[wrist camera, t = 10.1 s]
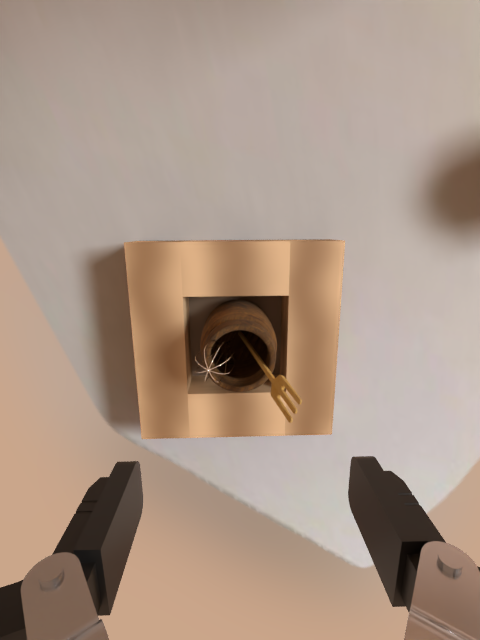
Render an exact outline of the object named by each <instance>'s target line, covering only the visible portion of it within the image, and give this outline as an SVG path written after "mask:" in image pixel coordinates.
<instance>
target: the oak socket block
mask: <svg viewBox="0 0 480 640" xmlns="http://www.w3.org/2000/svg"><path fill="white" fill-rule="evenodd" d="M344 249H345V241H342V240H330V239H325V240H204V241H134V242H125V243H124V250H125V261H126V272H127V283H128V294H129V305H130V316H131V327H132V338H133V349H134V360H135V370H136V381H137V392H138V403H139V414H140V425H141V436H142V439H157V438H199V437H242V436H284V435H327V434H332V423H333V409H334V394H335V380H336V365H337V350H338V336H339V321H340V307H341V292H342V278H343V263H344ZM231 300H245V301H249V302H251V303H253V304H255V305H257V306H258V307H259V308H261V309H262V310H263V311H264V312H265V314H266V315H267V317H268V318H269V320H270V322H271V324H272V327H273V329H274V332H275V335H276V340H277V352H276V363H275V367H274V370H273V372H272V374H273V375H274V377H275V378H276V377H277V376H279V375H282V376H284V377H285V378H286V379H287V381H288V382H289V383H290V385H291V386H292V388H293V389H294V390H295V392H296V393H297V394H298V396H299V397H300V398H301V400H302V403H301V404H300V405H299V404H298V403H297V402H296V401H295V400H294V398H293V397H292V396H291V394H290V393H289V392H288V391H287V389H286V388H284V391H285V392H286V394H287V395H288V397H289V398H290V400H291V401H292V403H293V404H294V405H295V407H296V408H297V413H296V414H294V413H293V412H292V411H291V409H290V408H289V406H288V405H287V404H286V402H285V401H284V400H283V398H282V397H281V396H280V399H281V401H282V402H283V404H284V406H285V407H286V409H287V410H288V412H289V414H290V415H291V417H292V418H293V422H292V423H289V422H288V420H287V419H286V417H285V416H284V414H283V413H282V411H281V410H280V408H279V407H278V406H277V404H276V403H275V401H274V400H273V398H272V397H271V394H270V393H271V387H272V383H271V381H270V380H269V378H268V380H267V381H266V382H265V383H263V384H262V385H261V386H259V387H258V388H256V389H253V390H251V391H247V392H232V391H228V390H225V389H223V388H221V387H219V386H218V385H216V384H215V383H214V382H213V381H212V380H211V379H210V377H209V378H208V374H207V372H203V371H206V370H205V367H204V364H203V363H202V362H203V358H202V355H201V349H200V342H201V335H202V331H203V328H204V325H205V322H206V320H207V318H208V316H209V315H210V313H211V312H212V311H213V310H214V309H215V308H216V307H217V306H219V305H220V304H222V303H224V302H227V301H231ZM199 351H200V352H199ZM198 352H199V354H198ZM197 354H198V355H197ZM196 355H197V356H196ZM195 357H196V360H195ZM196 361H197V362H198V363H199V364H201V363H202V364H201V366H203V367H204V368H203V367H201V366H199V364H198V363H197V362H196ZM198 367H199V368H198ZM197 368H198V369H197ZM196 369H197V371H196ZM195 371H196V372H202V373H196V372H195ZM206 374H207V377H206ZM205 377H206V379H207V378H208V379H207V381H206V380H205ZM205 381H206V382H205Z"/></svg>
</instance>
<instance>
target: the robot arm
mask: <svg viewBox="0 0 480 640" xmlns="http://www.w3.org/2000/svg"><path fill="white" fill-rule="evenodd" d="M348 497H349V504H350V508H351V511H352V513H353V516H354V518H355V520H356V523H357V525H358V527H359V530H360V532H361V534H362V537H363V539H364V541H365V544H366V546H367V548H368V551H369V553H370V555H371V558H372V560H373V562H374V565H375V567H376V569H377V571H378V574H379V576H380V578H381V581H382V583H383V585H384V588H385V590H386V592H387V594H388V597H389V599H390V602H391V604H392V606H393V607H397V606H398V607H399V606H406V607H407V610H408V612H409V617H408V622H407V627H406V632H405V638H404V640H480V567H477V566H476V564H475V563H474V561H473V560H472V559H471V558H470V557H469V556H468V555H467V554H466V553H464V552H463V551H462V550H460V549H459V548H457V547H455V546H453V545H451V544H448V543H446V542H445V540H444V539H443V538H442V536H441V535H440V533H439V532H438V530H437V529H436V527H435V526H434V524H433V523H432V522H431V520H430V519H429V517H428V516H427V514H426V513H425V511H424V510H423V508H422V507H421V506H420V505H419V503H418V501H417V500H416V498H415V497H414V495H412V492H411V491H410V490H409V488H408V487H407V485H406V484H405V482H404V481H403V480H402V479H400V478H399V477H398V476H397V475H395V474H394V473H393V472H392V471H383V469H382V467H381V466H380V464H379V463H378V461H377V460H376V458H375V457H373V456H366V457H352V459H351V467H350V478H349V490H348ZM142 508H143V492H142V481H141V471H140V464H139V462H138V461H137V462H136V461H133V462H117V463H116V464H115V466H114V468H113V471H112V472H111V474H110V476H109V477H102V478H99V479H98V480H97V481H96V482H95V483H94V484H93V485H92V486H91V487H90V488H89V489H88V491H87V492H86V494H85V496H84V498H83V500H82V503H81V504H80V505H79V507H78V509H77V511H76V514H74V516H73V518H72V520H71V521H70V523H69V525H68V527H67V529H66V531H65V532H64V534H63V536H62V538H61V540H60V542H59V543H58V545H57V547H56V549H55V551H54V553H53V554H52V555H51V556H48V557H46V558H45V559H43V560H41V561H40V562H38V563H37V564H36V565H35V566H34V567H33V568H32V569H31V570H30V571H29V572H28V573H27V575H26V576H25V578H24V580H22V581H19V582H17V583H14V584H11V585H7V586H5V587H1V588H0V640H109V638H108V635H107V632H106V629H105V626H104V624H103V622H102V620H99V618H98V615H110V613H111V610H112V607H113V604H114V600H115V597H116V594H117V591H118V588H119V584H120V581H121V578H122V575H123V571H124V569H125V565H126V562H127V558H128V556H129V553H130V549H131V546H132V543H133V540H134V537H135V533H136V530H137V527H138V524H139V521H140V517H141V514H142Z"/></svg>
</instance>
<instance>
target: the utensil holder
mask: <svg viewBox="0 0 480 640" xmlns="http://www.w3.org/2000/svg"><path fill="white" fill-rule="evenodd" d="M200 349H201V355H202V358H203V362H202V363H203V364H204V367H205V370H206V371H203V372H207V374H208V378H209V377H210V379H211V380H212V381H213V382H214V383H215V384H216V385H218V386H219V387H221V388H223V389H225V390H228V391H232V392H247V391H251V390H253V389H256V388H258V387H259V386H261V385H262V384H263V383H265V382H266V381H267V380H268V378H269V380H270V381H271V383H272V387H271V393H270V394H271V397H272V398H273V400H274V401H275V403H276V404H277V406H278V407H279V408H280V410H281V411H282V413H283V414H284V416H285V417H286V419H287V420H288V422H289V423H292V422H293V418H292V417H291V415H290V414H289V412H288V410H287V409H286V407H285V406H284V404H283V402H282V401H281V399H280V396H281V397H282V398H283V400H284V401H285V402H286V404H287V405H288V406H289V408H290V409H291V411H292V412H293V413H294V414H296V413H297V408H296V407H295V405H294V404H293V403H292V401H291V400H290V398H289V397H288V395H287V394H286V392H285V391H284V388H286V389H287V391H288V392H289V393H290V394H291V396H292V397H293V398H294V400H295V401H296V402H297V403H298V404H299V405H300V404H301V403H302V400H301V398H300V397H299V396H298V394H297V393H296V392H295V390H294V389H293V388H292V386H291V385H290V383H289V382H288V381H287V379H286V378H285V377H284V376H282V375H279V376H277V377H276V378H275V377H274V375H273V374H272V372H273V370H274V367H275V363H276V352H277V340H276V335H275V332H274V329H273V327H272V324H271V322H270V320H269V318H268V317H267V315H266V314H265V312H264V311H263V310H262V309H261V308H259V307H258V306H257V305H255V304H253V303H251V302H249V301H245V300H231V301H227V302H224V303H222V304H220V305H219V306H217V307H216V308H215V309H214V310H213V311H212V312H211V313H210V315H209V316H208V318H207V320H206V322H205V325H204V328H203V331H202V335H201V342H200ZM199 352H200V351H199ZM199 352H198V354H199ZM198 354H197V355H198ZM197 355H196V356H197ZM195 360H196V357H195ZM196 362H197V361H196ZM197 363H198V362H197ZM202 363H201V364H202ZM198 364H199V363H198ZM201 364H199V366H201ZM201 367H203V366H201ZM204 367H203V368H204ZM198 368H199V367H198ZM198 368H197V369H198ZM197 369H196V371H197ZM196 371H195V372H196ZM196 373H202V372H196ZM207 374H206V377H207ZM206 377H205V380H206V381H207V379H208V378H207V379H206ZM206 381H205V382H206Z"/></svg>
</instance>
